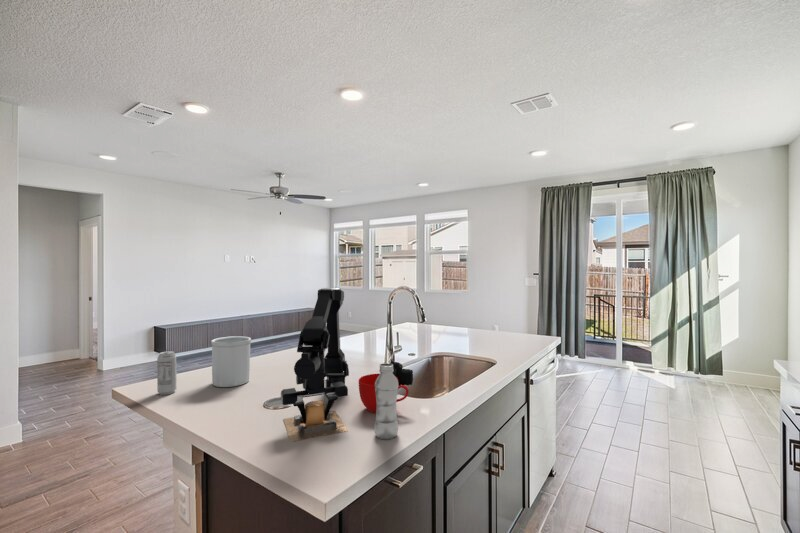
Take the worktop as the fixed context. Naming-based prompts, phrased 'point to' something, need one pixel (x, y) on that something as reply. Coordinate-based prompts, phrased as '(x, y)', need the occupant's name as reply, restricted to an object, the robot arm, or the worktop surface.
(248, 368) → the utensil holder
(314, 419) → the cap
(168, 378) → the energy drink can
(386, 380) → the plastic bottle
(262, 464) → the worktop surface
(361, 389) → the ceramic cup
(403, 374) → the film camera
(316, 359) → the robot arm
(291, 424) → the socket
